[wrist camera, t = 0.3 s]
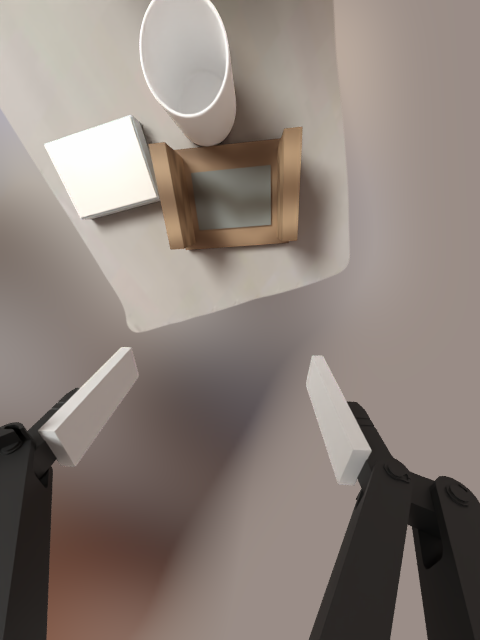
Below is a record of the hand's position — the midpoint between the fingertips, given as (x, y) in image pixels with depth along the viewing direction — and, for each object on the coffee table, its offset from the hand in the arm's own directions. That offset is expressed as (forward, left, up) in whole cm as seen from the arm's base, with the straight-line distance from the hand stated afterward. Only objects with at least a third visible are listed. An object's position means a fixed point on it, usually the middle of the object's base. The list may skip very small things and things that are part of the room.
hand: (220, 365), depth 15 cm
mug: (-25, -3, -27) cm, 37 cm away
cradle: (-12, 0, -27) cm, 30 cm away
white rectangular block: (-17, -19, -27) cm, 37 cm away
